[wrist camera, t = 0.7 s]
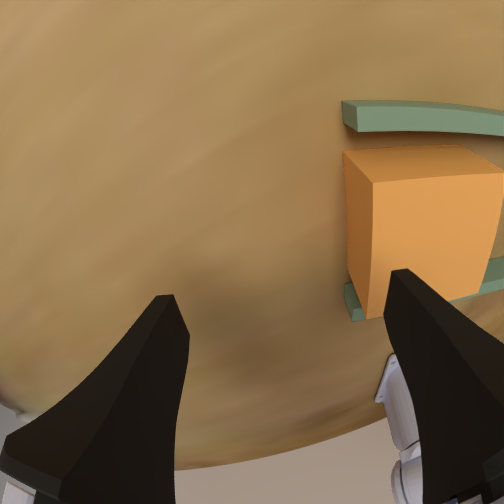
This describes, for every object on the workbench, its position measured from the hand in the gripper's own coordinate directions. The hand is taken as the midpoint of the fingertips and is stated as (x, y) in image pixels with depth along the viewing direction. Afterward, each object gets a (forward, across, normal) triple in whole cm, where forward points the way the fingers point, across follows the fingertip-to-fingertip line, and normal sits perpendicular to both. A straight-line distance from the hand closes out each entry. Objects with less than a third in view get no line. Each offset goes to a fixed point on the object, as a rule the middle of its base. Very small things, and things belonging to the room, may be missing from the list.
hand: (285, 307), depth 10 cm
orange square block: (+9, -8, +2) cm, 12 cm away
